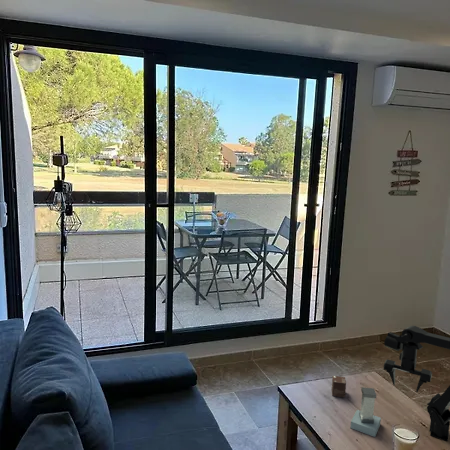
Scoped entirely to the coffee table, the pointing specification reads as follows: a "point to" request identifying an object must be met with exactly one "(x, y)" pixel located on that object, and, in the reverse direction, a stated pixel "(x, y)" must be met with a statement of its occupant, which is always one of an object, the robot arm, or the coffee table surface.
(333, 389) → the box
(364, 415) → the housing
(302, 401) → the coffee table surface
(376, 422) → the stand
